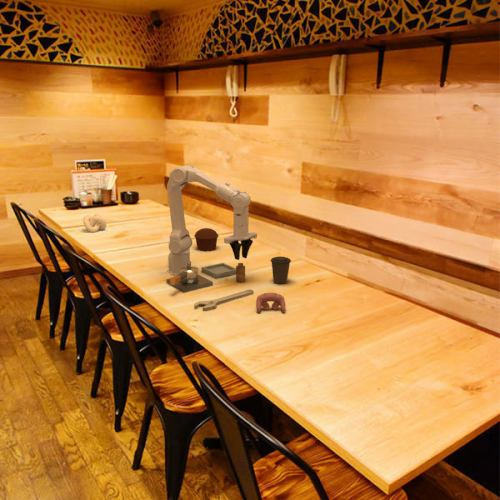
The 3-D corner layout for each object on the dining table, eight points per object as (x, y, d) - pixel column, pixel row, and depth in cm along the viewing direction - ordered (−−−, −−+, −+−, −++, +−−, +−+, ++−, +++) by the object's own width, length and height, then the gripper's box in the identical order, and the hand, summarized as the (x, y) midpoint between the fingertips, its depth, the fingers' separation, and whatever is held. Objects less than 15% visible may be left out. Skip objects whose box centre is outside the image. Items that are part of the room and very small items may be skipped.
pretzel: (82, 229, 264) (81, 213, 262) (104, 227, 269) (103, 211, 267) (84, 233, 254) (83, 217, 252) (107, 231, 259) (106, 215, 257)
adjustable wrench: (250, 292, 176) (250, 288, 176) (261, 298, 171) (261, 293, 171) (192, 307, 162) (191, 302, 161) (201, 313, 157) (201, 309, 156)
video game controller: (284, 313, 161) (284, 292, 162) (286, 312, 156) (285, 291, 158) (255, 313, 160) (255, 293, 162) (256, 313, 156) (256, 291, 157)
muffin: (220, 246, 234) (220, 226, 231) (216, 252, 223) (216, 232, 221) (196, 245, 235) (196, 225, 232) (192, 251, 224) (191, 231, 222)
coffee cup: (289, 286, 181) (290, 261, 179) (268, 284, 183) (268, 260, 180) (291, 279, 189) (292, 255, 186) (271, 277, 190) (272, 254, 188)
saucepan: (185, 276, 186) (185, 258, 184) (201, 278, 184) (201, 260, 182) (164, 290, 171) (163, 270, 169) (181, 292, 169) (180, 273, 167)
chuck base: (166, 282, 183) (166, 279, 183) (194, 276, 191) (194, 272, 191) (183, 292, 174) (183, 289, 173) (212, 285, 181) (212, 281, 181)
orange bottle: (234, 280, 186) (234, 263, 185) (241, 279, 189) (241, 261, 187) (240, 283, 184) (240, 265, 182) (247, 281, 186) (247, 263, 184)
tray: (201, 271, 196) (201, 267, 196) (223, 267, 203) (222, 262, 202) (216, 279, 188) (216, 274, 188) (238, 273, 195) (238, 269, 194)
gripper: (231, 229, 172) (231, 264, 176) (262, 223, 181) (261, 257, 185) (220, 225, 178) (221, 259, 182) (250, 220, 186) (250, 253, 190)
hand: (240, 258), depth 184 cm, fingers open, 3 cm apart
